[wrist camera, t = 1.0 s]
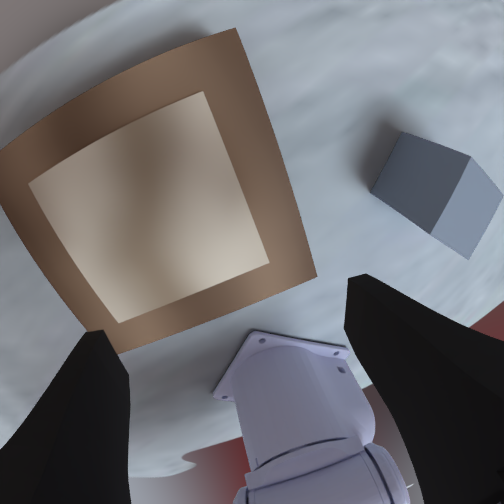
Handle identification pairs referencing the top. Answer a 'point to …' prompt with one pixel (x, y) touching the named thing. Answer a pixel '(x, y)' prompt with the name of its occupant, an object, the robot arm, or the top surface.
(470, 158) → the block
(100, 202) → the walnut base
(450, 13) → the top surface
